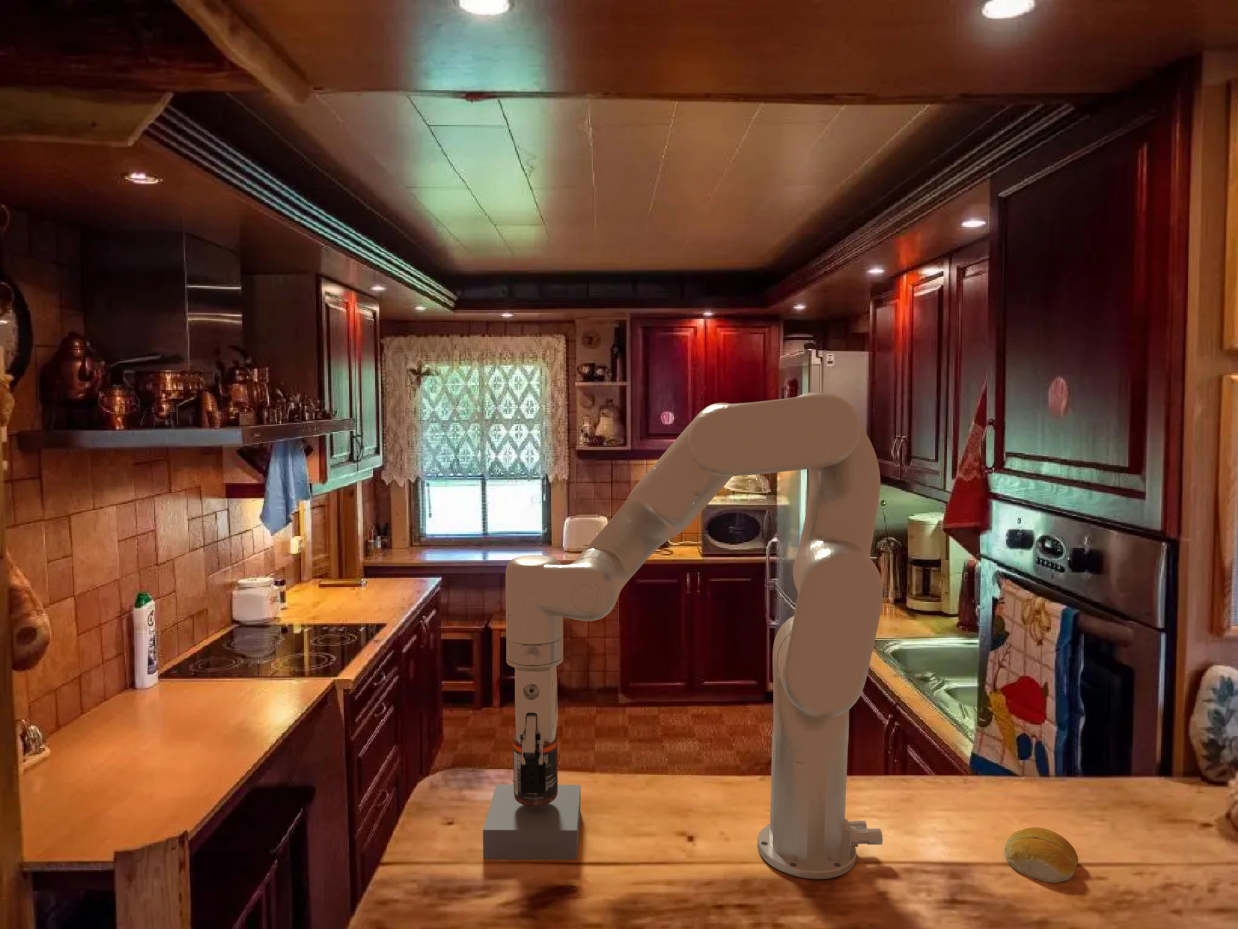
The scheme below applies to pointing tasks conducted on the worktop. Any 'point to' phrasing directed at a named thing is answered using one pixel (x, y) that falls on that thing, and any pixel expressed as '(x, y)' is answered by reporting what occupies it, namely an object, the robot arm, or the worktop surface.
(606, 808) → the worktop surface
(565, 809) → the pedestal
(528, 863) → the worktop surface
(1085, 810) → the worktop surface
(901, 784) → the worktop surface
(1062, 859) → the bread roll
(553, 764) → the supplement bottle
